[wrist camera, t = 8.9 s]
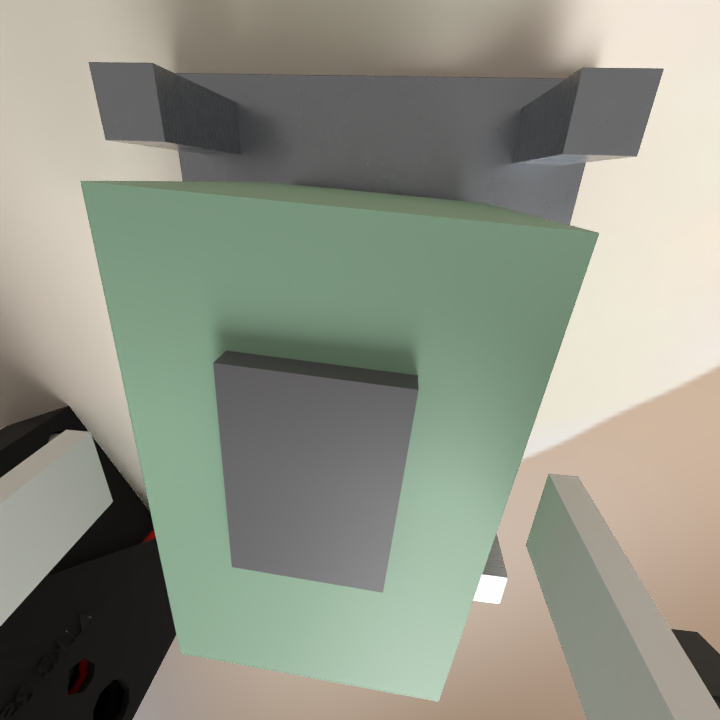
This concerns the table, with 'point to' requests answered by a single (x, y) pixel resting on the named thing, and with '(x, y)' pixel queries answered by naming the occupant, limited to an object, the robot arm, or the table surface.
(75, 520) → the robot arm
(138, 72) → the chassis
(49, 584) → the electrical component
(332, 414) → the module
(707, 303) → the table surface
